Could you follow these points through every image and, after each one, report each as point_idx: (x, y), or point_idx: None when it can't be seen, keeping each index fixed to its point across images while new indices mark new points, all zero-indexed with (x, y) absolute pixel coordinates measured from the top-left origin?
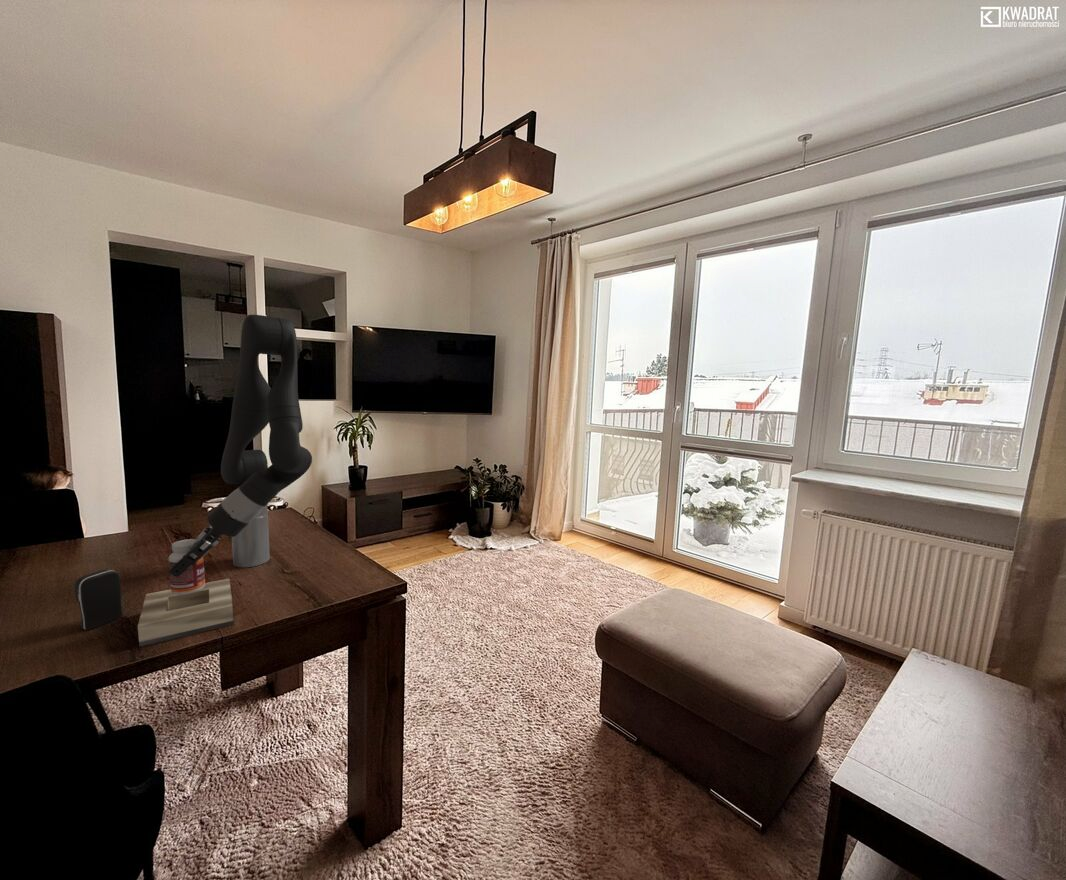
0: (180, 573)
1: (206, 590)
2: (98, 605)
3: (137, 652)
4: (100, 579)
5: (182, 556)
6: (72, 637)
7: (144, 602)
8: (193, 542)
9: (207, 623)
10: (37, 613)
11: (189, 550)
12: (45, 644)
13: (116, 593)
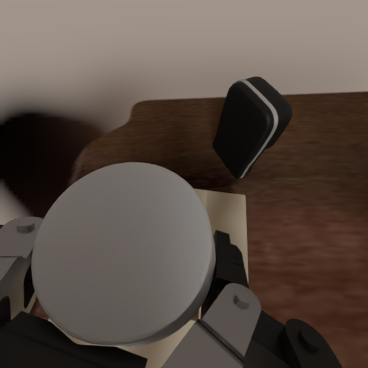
0: None
1: (198, 313)
2: (227, 136)
3: None
4: (246, 103)
5: (29, 218)
6: (203, 136)
7: (202, 190)
8: (71, 296)
9: None
10: (299, 110)
11: (4, 254)
12: (202, 118)
13: (246, 150)
